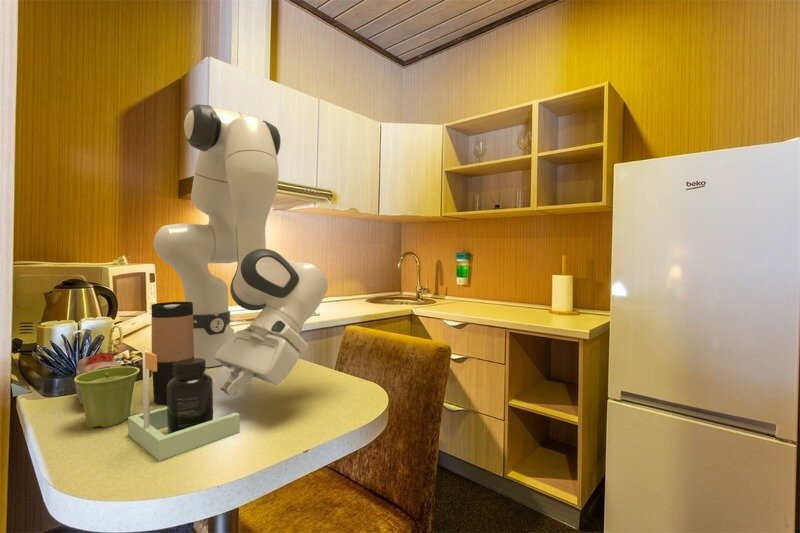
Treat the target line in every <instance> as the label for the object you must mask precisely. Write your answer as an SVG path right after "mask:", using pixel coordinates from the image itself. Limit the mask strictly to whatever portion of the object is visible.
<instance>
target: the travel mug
mask: <svg viewBox="0 0 800 533" xmlns="http://www.w3.org/2000/svg"><path fill="white" fill-rule="evenodd" d="M151 353H153V354H155V355H157V371H155V372H154V371H152V370H151V372H152V375H151V376H152V390H153V391H152V393H153V403H154V404H156V405H158V406H159V405H160V406H167V385H168V383H169V381H170V380H171V379H173V378H174V377H175V375H173V371H174V370H173V364H174V363H175V362H177V361H180V360H184V359H191V358H194V329H193V303H192V302H185V301H168V302H167V301H165V302H156V303H152V304H151Z"/></svg>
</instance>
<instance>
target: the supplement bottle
mask: <svg viewBox="0 0 800 533" xmlns="http://www.w3.org/2000/svg"><path fill="white" fill-rule="evenodd" d="M173 370H174V371H173V375H175V377H174V378H173V379H171V380H170V381H169V383H168V385H167V405H166V407H167V426H166V427H167V434H171V433H174V432H177V431H180V430H183V429H186V428H189V427H192V426H195V425H198V424H202V423H205V422H208V421H211V420H214V394H213V390H214V389H213V387H214V386H213V379H212V377H211V375H209V374H207V373H205V371H206V370H207V367H206V361H205V359H203V358H191V359H184V360H180V361H177V362H175V363H174V364H173Z"/></svg>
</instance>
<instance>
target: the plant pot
mask: <svg viewBox="0 0 800 533" xmlns="http://www.w3.org/2000/svg"><path fill="white" fill-rule="evenodd" d="M140 373H141V370H140V368H139V367H137V366H123V367H112V368H105V369H99V370H94V371H90V372H87V373H83V374H81V375H78V376H75V377H74V379H73V381H74V383H75V382H76V383H77V384H78V388H79V390H80V391H81V396H82V401H83V404H82V405H83V406H82V407H83V409H84V415H85V421H86V426H87V427H89V428H96V427H101V428H108V427H112V426H115V425H119V424H121V423H123V422H125V420H127V419H128V417H130V414H131V406H132V401H133V393H134V388H135V387H134V386H135V382H136V381H137V377H138V374H140Z"/></svg>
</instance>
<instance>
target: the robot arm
mask: <svg viewBox="0 0 800 533" xmlns="http://www.w3.org/2000/svg"><path fill="white" fill-rule="evenodd" d="M183 130H184V134H185V139H186V141H187V142H188V144H189V145H190V146H191V147H193V148H194V149H196V150H198V154H197V158H196V161H195V167H194V172H193V173H194V174H193V181H192V187H191V193H190V199H191V202H192V204H193V205H194V207H195V208H196V209H198V210H199V211H200V212H202V213H204V214H206V215H207V216H208V223H207V224H197V223H172V224H166V225H162V226H161V227H159V229H158V230H157V231H156V232H155V234H154V238H153V248H154V251H155V253H156V255H157V256H158V258H159V259H161V260H162V261H163V262H164V263H166V264H168V265H169V266H170V267H171V268H172V269H173V270H174V271H175V272H176V274H177V275H178V277H179V279H180V281H181V283H182V288H183V295H184V298H183V299H184V302H192V303H193V329H194V358H203V359H205V361H206V368H212V367H218V366H223V367H225V368H227V369H228V371H227V374H226V377H225V380H224V381H223V383H222V384H221V385H220V387H219V390H220V391H221V392H223V394H227V396H228V395H229V396H231V397H234V396H236V395H237V394H238V392H239V391H240V389H242V388H244V387H245V386H246V385H248V384H249V383H251V381H252V380H253V378H255V379H258V380H261V381H264V382H267V383H270V384H271V385H276V386H277V385H278V384H280V383H282V382H283V381H285V379H286V378H287V377H288V376H289V374H290V373H291V372H292V370H293V369H294V367H295V365H296V364H297V363H298V361H299V359H300V354H303V353H305V352H306V350H308V347H309V344H308V343H307V341H305V339H304V338H303V337H302V336H301V335H300V333H301V332H302V329H303V327H304V325H305V323H306V322H307V320H309V319H310V318H311V317H312V316H313V315H314V313H315V312H316V311H317V309H318V308H319V306H320V305H321V303H322V302H323V300H324V299H325V296H326V293H327V292H328V290H329V289H328V288H329V282H328V279H327V277H326V275H325V273H324V272H323V271H322V270H321V269H320V268H319V267H318V266H317V265H315V264H314V263H310V262H299V261H296V260H292V259H289V258H287V257H285V256H282V255H281V254H279V252H276V251H275V250H273V249H268V248H267V244H266V226H267V220H268V217H269V214H270V211H271V208H272V206H273V204H274V201H275V199H276V196H277V193H278V189H279V188H278V186H279V166H278V165H279V164H278V157H277V156H278V155H279V151H280V150H281V149H280V148H281V135H280V132H279V129H278V128H277V127H276V126H275V125H273V124H272V123H270V122H268V121H266V120H262V119H260V118H258V117H255V116H251V115H248V114H245V113H241V112H240V111H239V112H236V111H232V110H229V109H224V108H223V109H222V108H219V107H217V108H216V107H213V106H212V105H209V104H201V103H200V104H195V105H192V107H190V108H189V110H188V112H187V113H186V116H185V118H184V122H183ZM231 263H237V267H236V271H235V273H234V274H233V277H232V279H231V283H230V285H229V286H230V289H229V287H228V285H227V283H226V282H225V281H224V279H221V278H220V277H218V276H215V275H214V274H212V273H211V271H210V268H209V266H208V264H231ZM229 291H230V295H231V298H232V299H233V301H234V303H235V304H237V305H238V306H239V307H241V308H242V309H245V310H248V311H260V312H259V313H258V314H257V316H256V317H255V318H254V319H253V320H252V322H251V323H250V325H249V326H247V327H246V328H244V329H241V330H237V331H236V332H235V330H234V328H232V327H231V325H230V324H231V319H232V318H231V317H232V316H231V311H230V310H229Z"/></svg>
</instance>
